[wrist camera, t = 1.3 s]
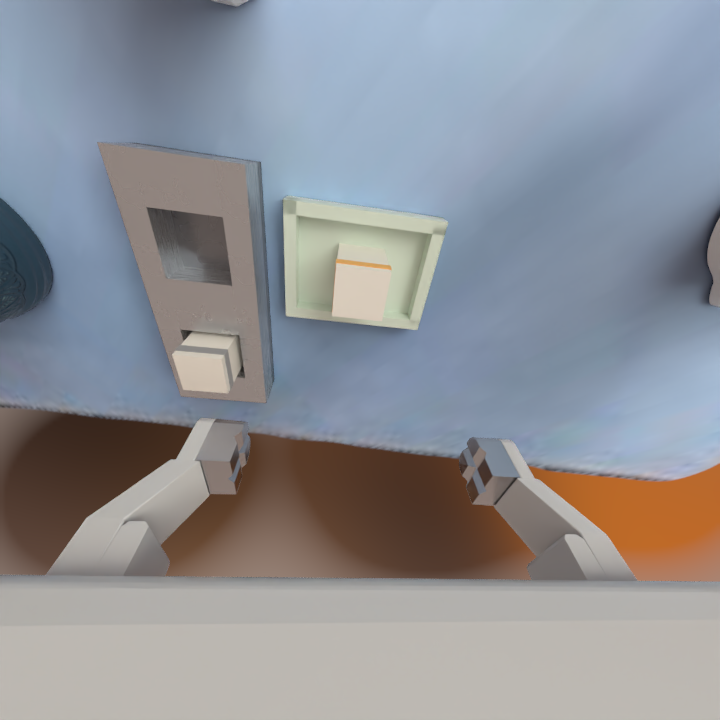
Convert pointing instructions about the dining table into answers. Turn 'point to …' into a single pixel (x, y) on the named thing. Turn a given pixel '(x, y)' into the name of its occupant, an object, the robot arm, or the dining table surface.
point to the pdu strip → (199, 251)
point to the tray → (364, 228)
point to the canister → (20, 266)
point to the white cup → (231, 2)
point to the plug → (360, 282)
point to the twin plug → (208, 361)
